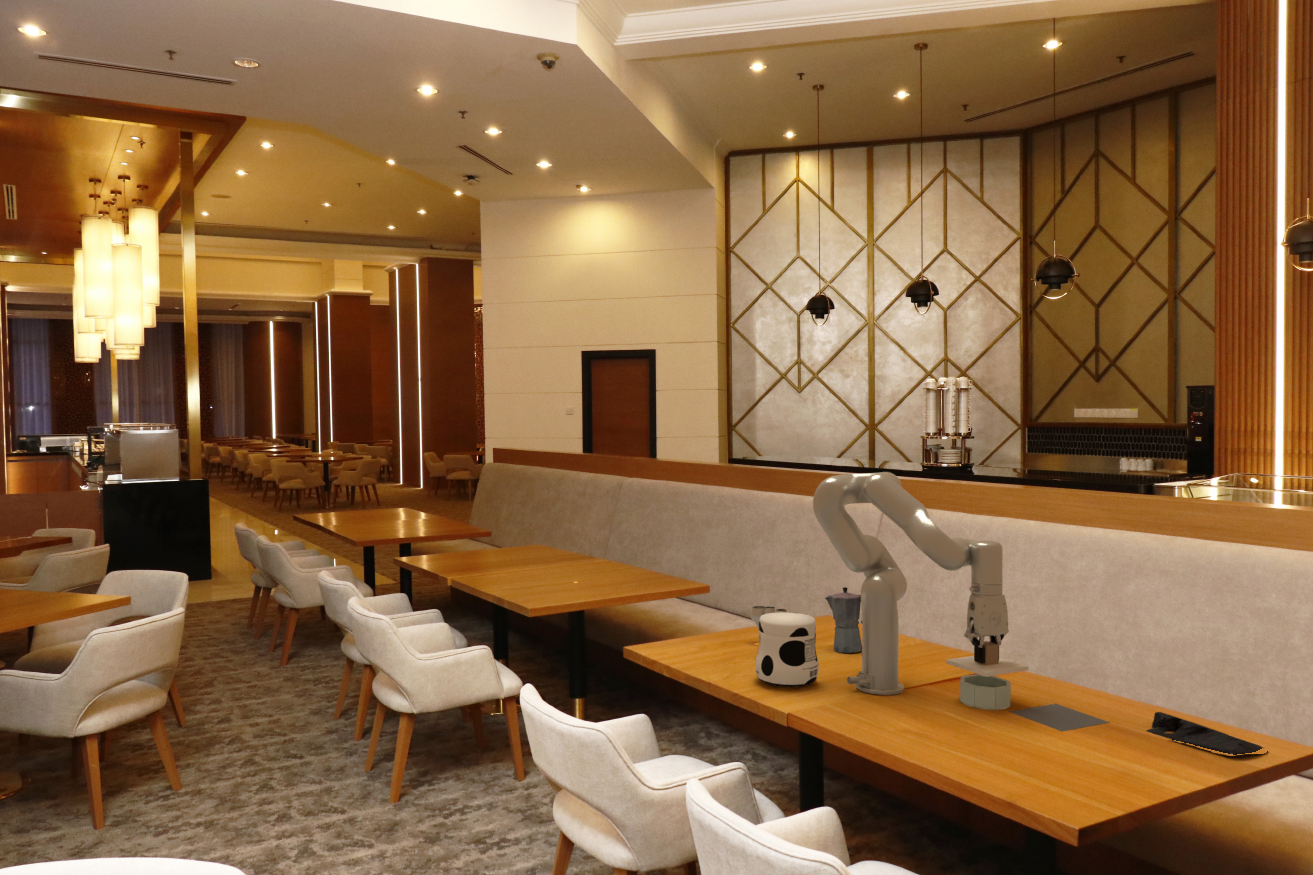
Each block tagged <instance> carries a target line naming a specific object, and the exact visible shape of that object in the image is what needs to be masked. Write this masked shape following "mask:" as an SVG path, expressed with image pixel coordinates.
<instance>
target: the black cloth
mask: <svg viewBox="0 0 1313 875" xmlns="http://www.w3.org/2000/svg"><path fill="white" fill-rule="evenodd" d="M1145 731H1146V732H1147V733H1150V734H1154V735H1158V736H1161V737H1164V738H1167V739H1168V740H1176V741H1181V742H1184V743H1189V744H1193V745H1195V746H1200V747H1203V748H1207V749H1211V750H1215V751H1219V752H1223V753H1228V754H1233V755H1237V754H1245V753H1252V752H1256V751H1258V750H1260V749H1262V748H1264V747H1263V746H1261V745H1259V744H1256V743H1253V742H1250V741H1247V740H1244V739H1242V738H1238V737H1235V736H1232V735H1229V734H1227V733H1225V732H1222V731H1220V730H1216V729H1213V728H1210V727H1208V726H1206V725H1202V724H1199V723H1197V722H1193V721H1190V720H1187V719H1183V718H1181V717H1178V716H1174V715H1171V714H1168V713H1165V712H1162V711H1156V712H1154V715H1153V721H1152V724H1151V728H1150V729H1146V730H1145Z"/></svg>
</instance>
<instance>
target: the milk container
mask: <svg viewBox="0 0 1313 875" xmlns="http://www.w3.org/2000/svg"><path fill="white" fill-rule="evenodd" d="M816 627H817V624H816V619H815V617H813V616H811V615H808V614H804V613H799V612H795V613H788V612H787V613H786V612H779V613H768V614H764V615H761V617H760V620H759V630H758V642H759V646H758V648H757V649H758V650H757V654H756V658H755V663H754V664H755V672H756V673H755V674H756V676H757V678H758V679H759V680H760V681H761V682H762V683H764V684H767V685H770V686H774V687H780V688H800V687H806V686H809V685H811V684H814V683H815V682H816V680H817V678H818V675H819V670H820V668H819V667H820V666H819V659H818V655H817V651H816V650H817V649H816V641H817V640H816V639H817V636H816V635H817V634H816V629H817V628H816Z"/></svg>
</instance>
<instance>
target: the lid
mask: <svg viewBox="0 0 1313 875" xmlns="http://www.w3.org/2000/svg"><path fill="white" fill-rule="evenodd" d="M983 647H984V648H985V663H979V662H976V661H974V655H970V656H963V657H955V658H949V659H948V658H947V659H945V664H947V665H949V666H953V667H955V668H959V669H961V670H965V671H967V672H970V673H971V672H972V673H974V674H977V675H983V676H986V677H987V676H1000V675H1007V674H1013V673H1019V672H1024V671H1025V672H1027V671H1029V666H1028V665H1025V664H1022V663H1019V662H1016V661H1011V660H1008V659H1005V658H1002V657H999V661H998V644H996V643H992V642H990V640H989V641H988V640H984V644H983Z"/></svg>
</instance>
